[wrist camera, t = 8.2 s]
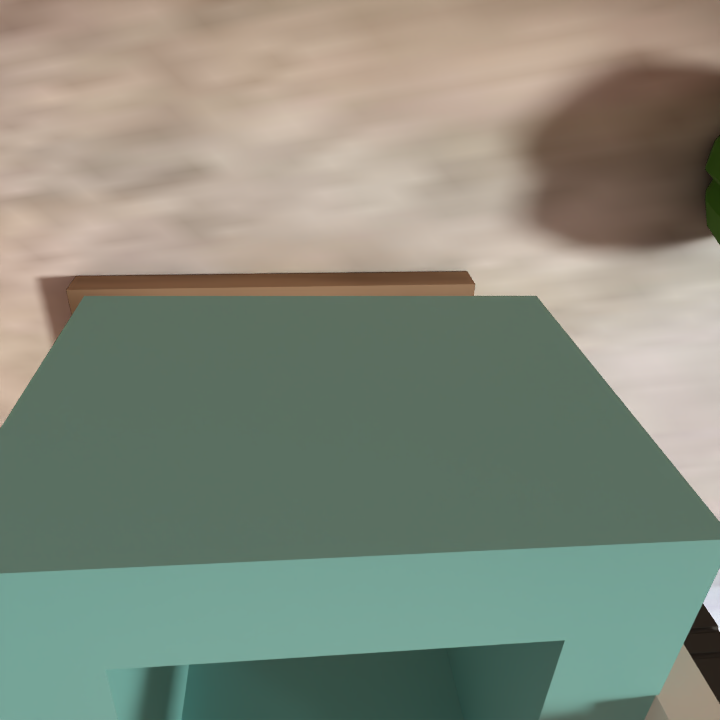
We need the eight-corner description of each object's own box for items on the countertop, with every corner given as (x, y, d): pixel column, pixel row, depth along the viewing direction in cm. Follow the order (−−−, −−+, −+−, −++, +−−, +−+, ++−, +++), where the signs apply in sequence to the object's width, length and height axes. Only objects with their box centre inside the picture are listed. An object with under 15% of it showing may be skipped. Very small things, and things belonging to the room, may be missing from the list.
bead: (84, 295, 11) (-94, 577, 6) (536, 296, 12) (733, 539, 7) (142, 608, 15) (69, 938, 10) (475, 590, 16) (569, 883, 11)
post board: (76, 276, 29) (-59, 463, 18) (467, 271, 30) (569, 439, 19) (136, 556, 38) (72, 796, 27) (434, 541, 40) (491, 760, 28)
